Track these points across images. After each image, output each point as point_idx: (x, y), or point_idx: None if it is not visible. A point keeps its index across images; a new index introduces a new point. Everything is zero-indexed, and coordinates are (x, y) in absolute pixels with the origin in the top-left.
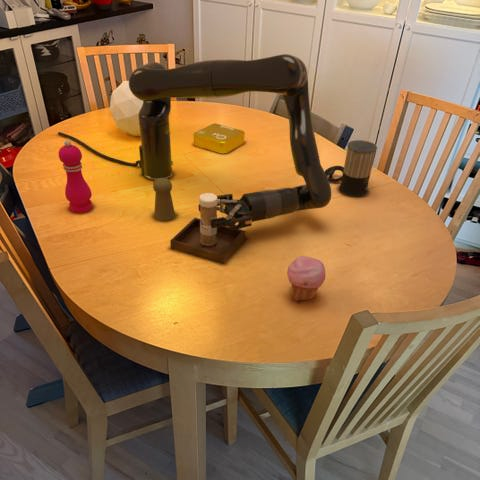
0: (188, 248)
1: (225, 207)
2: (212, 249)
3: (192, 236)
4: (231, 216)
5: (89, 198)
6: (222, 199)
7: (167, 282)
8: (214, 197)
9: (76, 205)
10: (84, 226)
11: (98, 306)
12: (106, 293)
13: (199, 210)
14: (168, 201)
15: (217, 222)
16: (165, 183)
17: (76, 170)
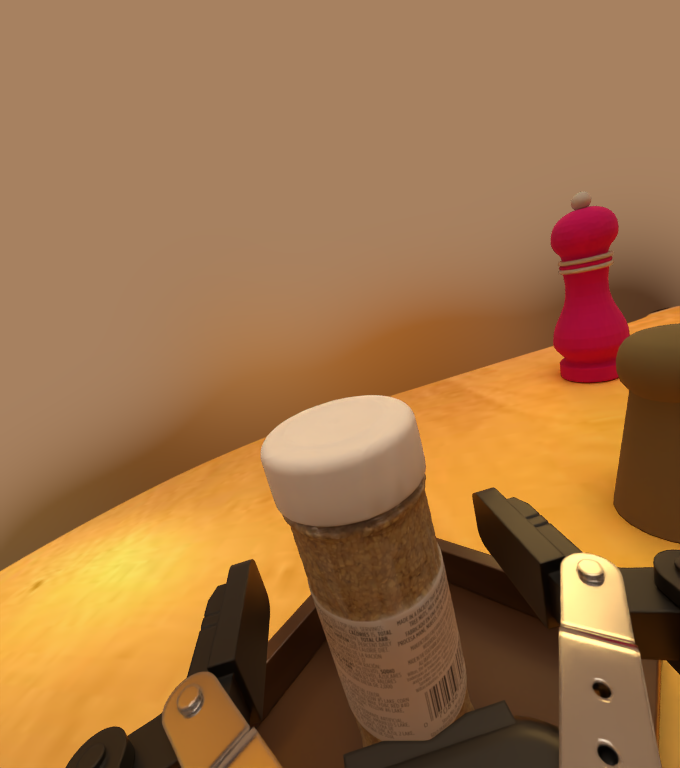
0: None
1: (473, 717)
2: (331, 755)
3: (488, 630)
4: (185, 757)
5: (587, 352)
6: (624, 651)
7: (202, 556)
8: (306, 448)
9: (565, 359)
10: (501, 396)
11: (212, 466)
12: (241, 467)
13: (479, 525)
14: (654, 441)
15: (206, 608)
16: (655, 342)
17: (568, 271)
